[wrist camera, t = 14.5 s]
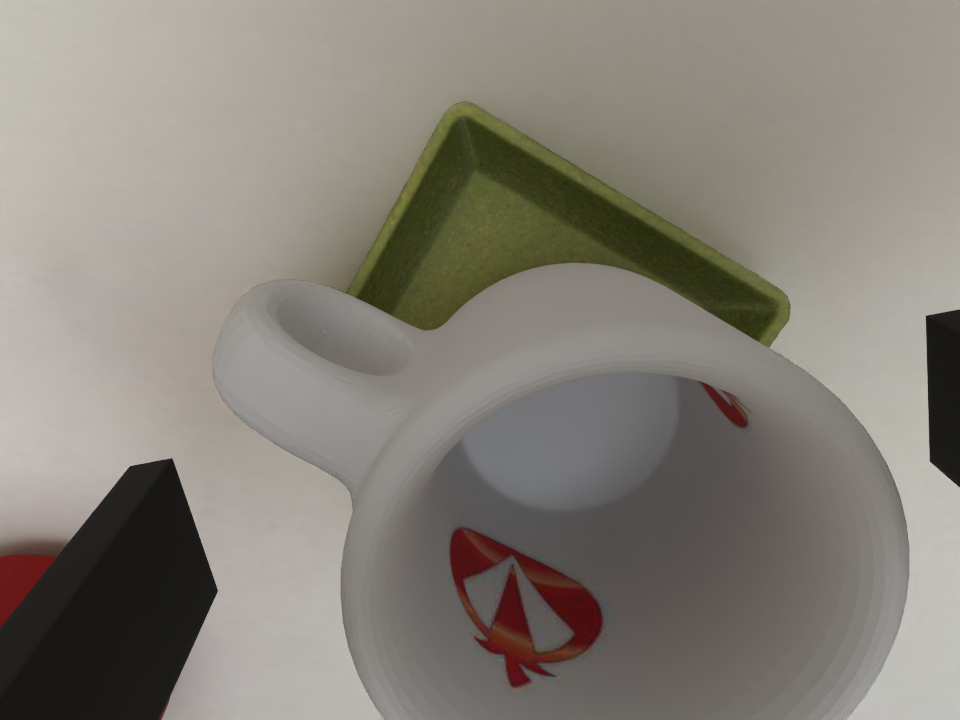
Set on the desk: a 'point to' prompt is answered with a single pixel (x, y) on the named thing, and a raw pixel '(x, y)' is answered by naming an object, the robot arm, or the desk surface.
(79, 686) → the robot arm
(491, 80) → the desk surface
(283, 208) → the desk surface
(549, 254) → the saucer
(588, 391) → the cup
